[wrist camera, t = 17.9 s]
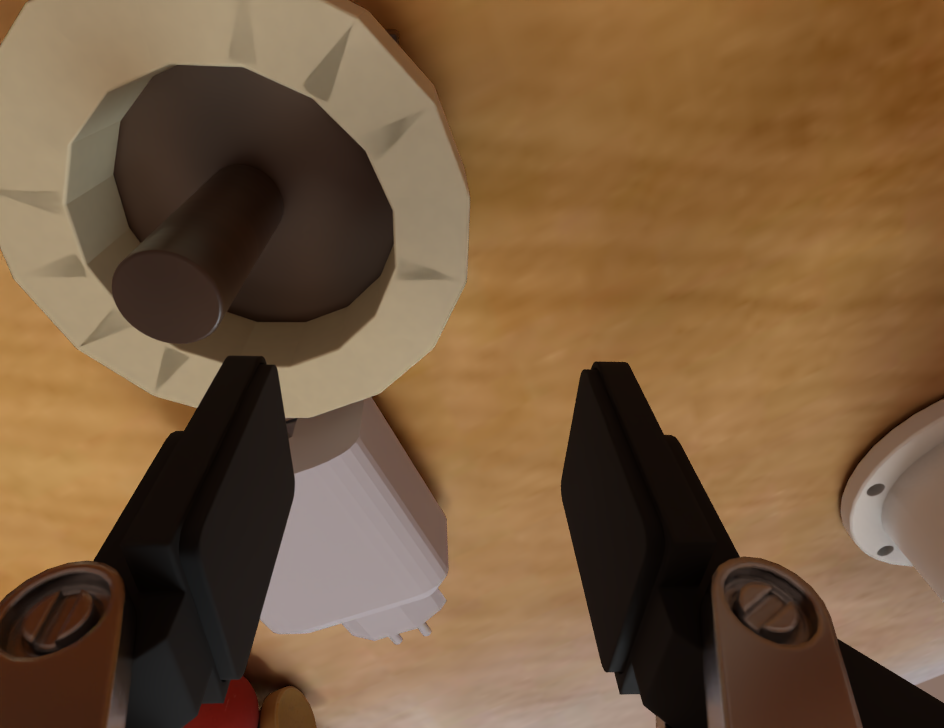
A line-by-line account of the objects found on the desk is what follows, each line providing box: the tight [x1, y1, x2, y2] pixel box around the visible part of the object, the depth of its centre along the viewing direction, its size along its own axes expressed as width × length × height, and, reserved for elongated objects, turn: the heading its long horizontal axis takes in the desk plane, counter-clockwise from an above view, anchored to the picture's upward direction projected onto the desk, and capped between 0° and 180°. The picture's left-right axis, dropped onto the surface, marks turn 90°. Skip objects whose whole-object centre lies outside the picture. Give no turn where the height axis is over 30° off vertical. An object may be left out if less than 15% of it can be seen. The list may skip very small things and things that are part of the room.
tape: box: [0, 0, 470, 418], centre depth 18 cm, size 13×13×3 cm
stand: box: [112, 29, 399, 344], centre depth 17 cm, size 10×10×8 cm
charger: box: [260, 397, 448, 644], centre depth 28 cm, size 5×9×15 cm
